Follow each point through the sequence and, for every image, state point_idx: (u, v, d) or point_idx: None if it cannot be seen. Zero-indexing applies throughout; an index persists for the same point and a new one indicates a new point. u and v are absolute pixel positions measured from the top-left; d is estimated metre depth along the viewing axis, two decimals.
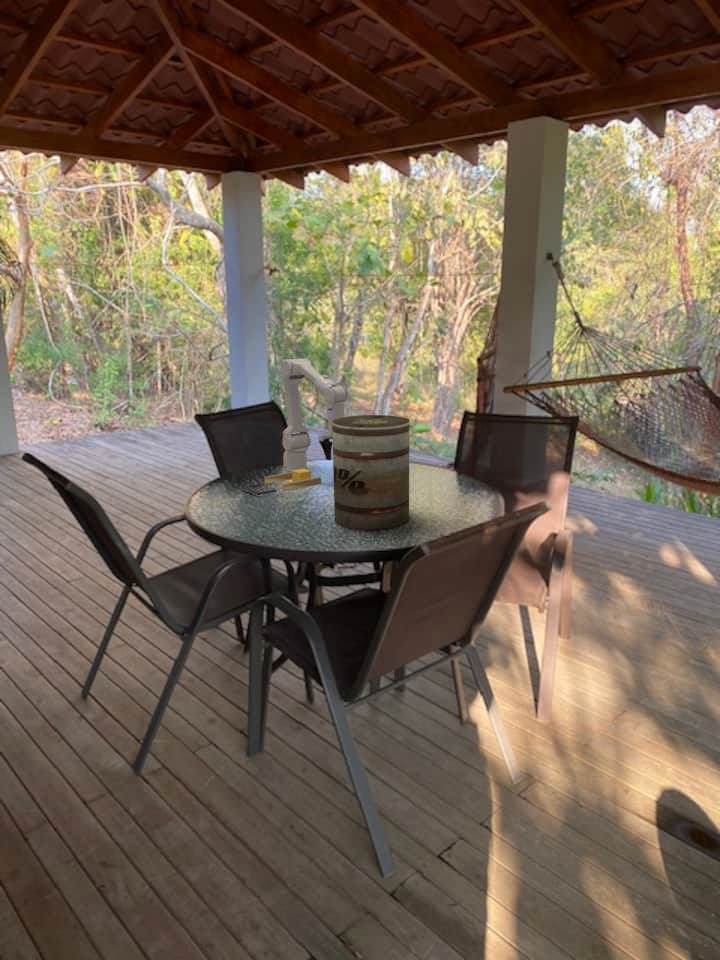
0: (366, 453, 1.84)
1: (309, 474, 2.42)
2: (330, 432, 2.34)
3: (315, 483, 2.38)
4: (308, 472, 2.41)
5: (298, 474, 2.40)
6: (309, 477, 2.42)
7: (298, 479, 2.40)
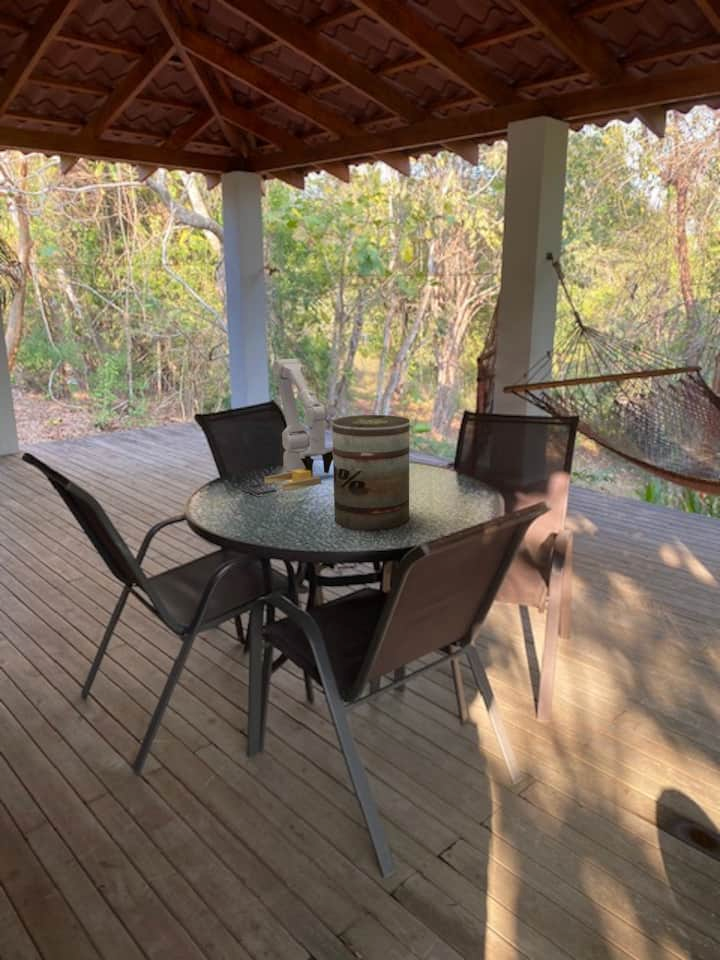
0: (366, 453, 1.84)
1: (309, 474, 2.42)
2: (311, 449, 2.43)
3: (315, 483, 2.38)
4: (308, 472, 2.41)
5: (298, 474, 2.40)
6: (309, 477, 2.42)
7: (298, 479, 2.40)
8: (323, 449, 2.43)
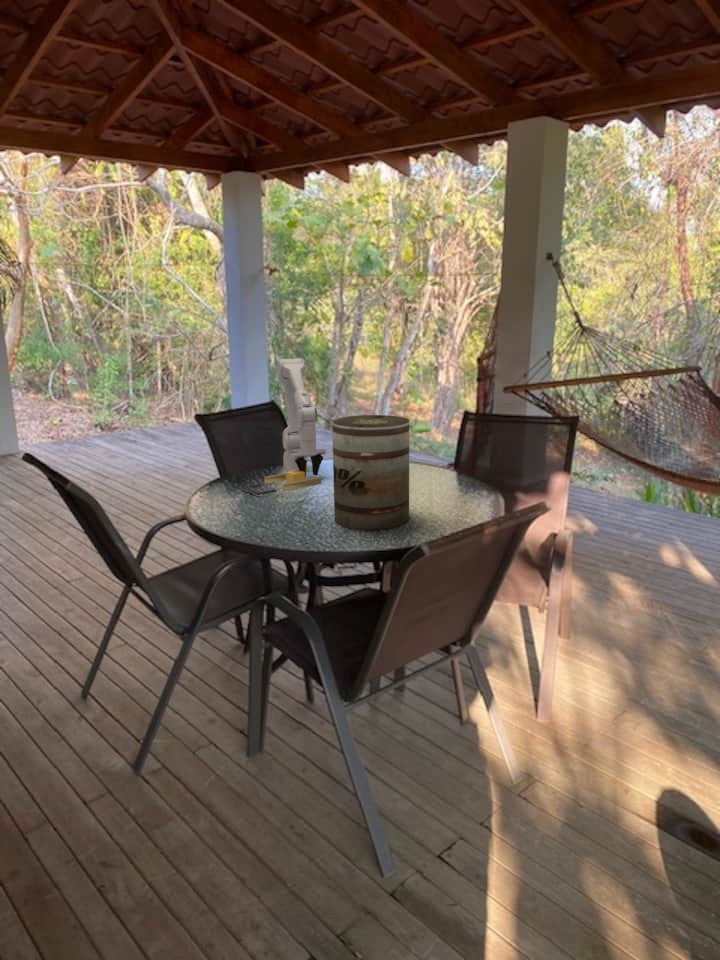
0: (366, 453, 1.84)
1: (303, 475, 2.40)
2: (302, 451, 2.41)
3: (315, 483, 2.38)
4: (302, 473, 2.40)
5: (292, 475, 2.38)
6: (303, 478, 2.40)
7: (292, 480, 2.39)
8: (314, 450, 2.41)
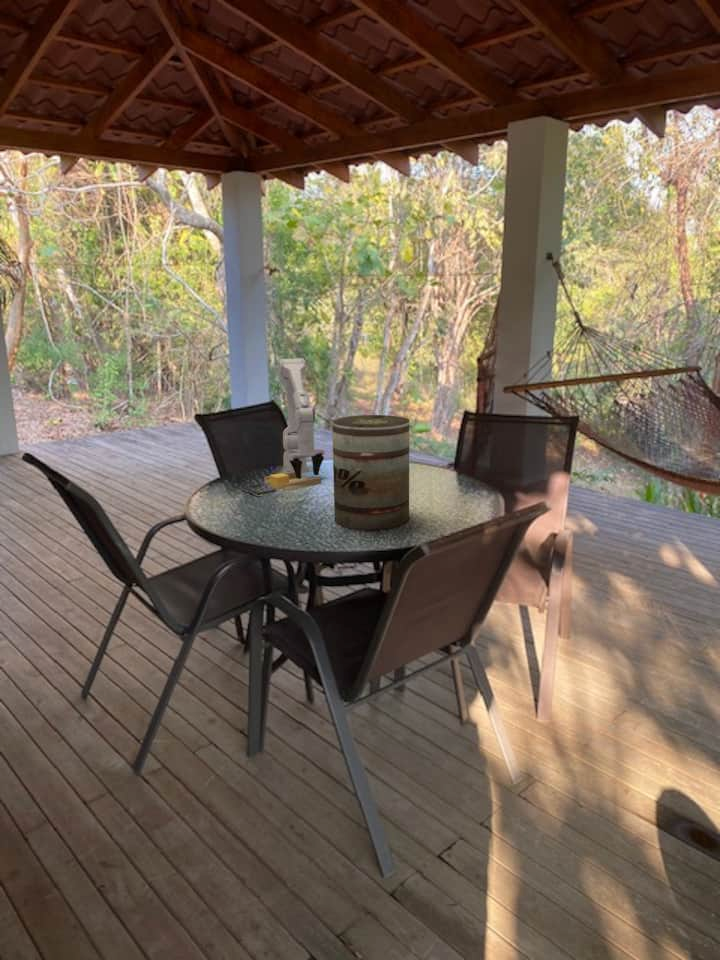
0: (366, 453, 1.84)
1: (287, 479, 2.36)
2: (300, 451, 2.40)
3: (315, 483, 2.38)
4: (286, 477, 2.36)
5: (275, 479, 2.34)
6: (287, 482, 2.36)
7: (275, 484, 2.35)
8: (312, 451, 2.41)
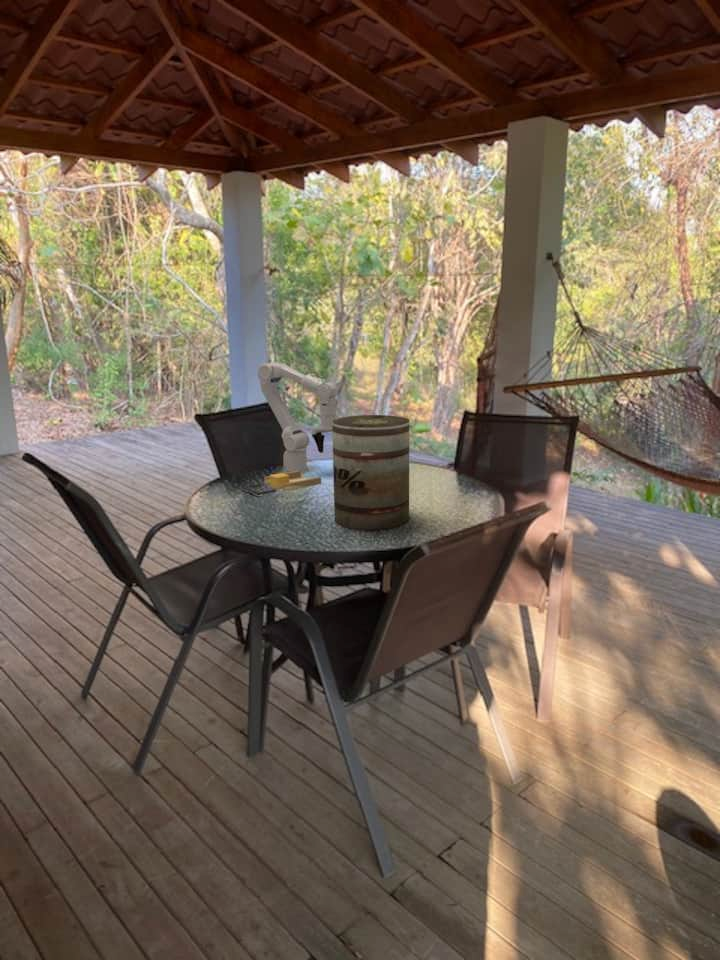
0: (366, 453, 1.84)
1: (287, 479, 2.36)
2: (322, 426, 2.47)
3: (315, 483, 2.38)
4: (286, 477, 2.36)
5: (275, 479, 2.34)
6: (287, 482, 2.36)
7: (275, 484, 2.35)
8: None
